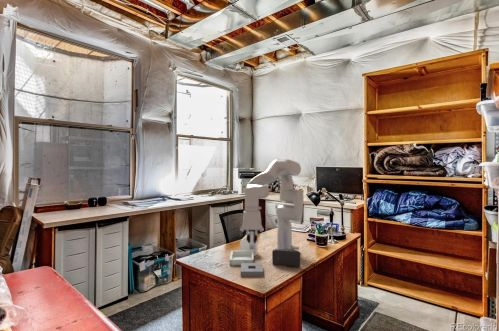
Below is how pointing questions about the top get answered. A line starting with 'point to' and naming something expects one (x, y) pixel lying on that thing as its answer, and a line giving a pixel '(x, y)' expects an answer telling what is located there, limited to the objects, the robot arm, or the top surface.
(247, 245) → the corner bracket
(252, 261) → the parts tray
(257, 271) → the grey square hole plate
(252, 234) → the pin
